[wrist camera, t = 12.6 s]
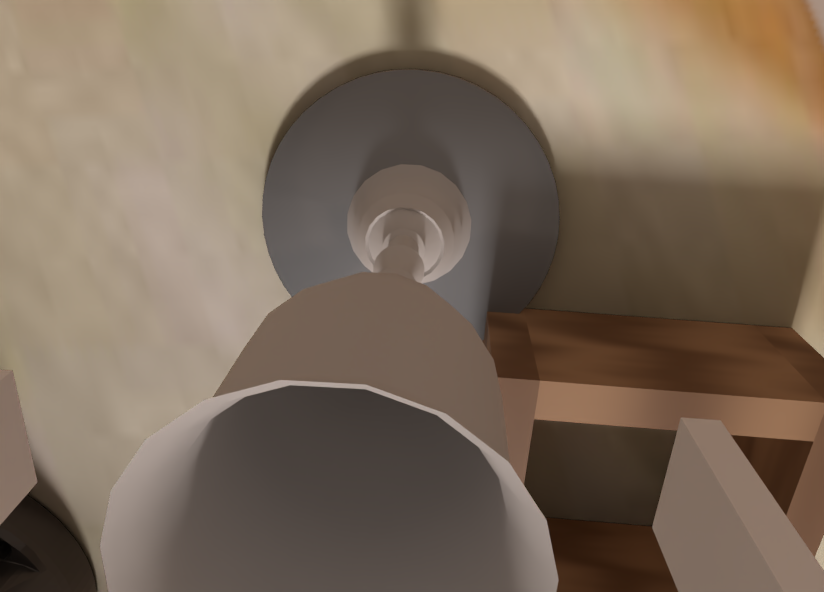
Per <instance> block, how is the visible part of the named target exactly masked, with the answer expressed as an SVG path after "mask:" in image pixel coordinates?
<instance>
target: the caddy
mask: <svg viewBox="0 0 824 592" xmlns="http://www.w3.org/2000/svg"><path fill="white" fill-rule="evenodd" d="M482 342H483V343H484V345H485V347H486V348H487V350H488V351H489V353H490V355H491V356H492V358H493V360H494V363H495V368H496V372H497V377H498V382H499V386H500V391H501V395H502V401H503V410H504V418H505V427H506V435H507V444H508V453H509V461H510V465H511V466H512V468H513V469H514V471H515V472H516V474H517V475H518V477H519V478H520V480H521V482H522V483H523V485H524V481H525V475H526V468H527V462H528V455H529V449H530V442H531V436H532V429H533V423H534V419H537V420H550V421H563V422H575V423H588V424H600V425H613V426H625V427H638V428H650V429H663V430H676V431H677V430H678V426H679V422H680V419H681V418H695V419H709V420H721V421H722V423H723V424H724V426H725V427H726V429H727V430H728V432H729V433H730V435H731V436H732V438H733V439H734V440H735V442H736V443H737V445H738V446H739V448H740V449H741V451H742V452H743V454H744V455H745V457H746V458H747V459H748V461H749V462H750V464H751V465H752V467H753V468H754V470H755V471H756V473H757V474H758V476H759V477H760V478H761V480H762V481H763V483H764V484H765V486H766V487H767V489H768V490H769V492H770V493H771V494H772V496H773V497H774V499H775V500H776V502H777V503H778V505H779V506H780V508H781V509H782V511H783V512H784V513H785V515H786V516H787V518H788V519H789V521H790V522H791V524H792V525H793V527H794V528H795V530H796V531H797V532H798V534H799V535H800V537H801V538H802V540H803V541H804V543H805V544H806V546H807V547H808V548H809V550H810V551H811V553H812V554H813V556H814V557H815V555H816V552H817V550H818V547H819V545H820V542H821V540H822V537H823V535H824V358H823V357H822V356H821V355H820V354H819V353H818V352H817V351H816V350H815V349H814V348H813V347H812V346H810V345H809V344H808V343H807V342H806V341H805V340H804V339H803V338H802V337H801V336H800V335H799V334H798V333H797V332H796V331H794V330H793V329H792V328H784V327H770V326H757V325H743V324H730V323H716V322H703V321H689V320H675V319H662V318H648V317H635V316H621V315H607V314H594V313H580V312H567V311H553V310H540V309H526V308H524V309H523V310H522V311H521V312H520V313H519V314H515V313H501V312H488V311H487V316H486V325H485V334H484V340H483V341H482ZM545 519H546V520H547V525H548V530H549V535H550V540H551V545H552V549H553V554H554V559H555V564H556V569H557V574H558V579H559V581H558V586H557V591H556V592H678V590H677V588H676V585H675V583H674V580H673V578H672V575H671V573H670V570H669V568H668V565H667V563H666V561H665V558H664V556H663V553H662V551H661V548H660V546H659V543H658V541H657V538H656V536H655V533H654V531H653V529H652V527H651V526H640V525H628V524H616V523H604V522H592V521H581V520H569V519H557V518H545Z"/></svg>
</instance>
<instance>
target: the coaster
mask: <svg viewBox="0 0 824 592" xmlns="http://www.w3.org/2000/svg"><path fill="white" fill-rule="evenodd" d="M400 164H407V165H422V166H425V167H427V168H430V169H432V170H435V171H438V172H440V173H442V174H443V175H444V176H445V177H446V178H448V179H449V180H450V181H451V182H453V183H454V184H455V185H456V186H457V188H458V189H459V191H460V192H461V194H462V195H463V197H464V199H465V200H466V202H467V205H468V209H469V213H470V217H471V232H470V241H469V243H468V245H467V248H466V250H465V252H464V255H463V257H462V258H461V259H460V260H459V262H458V263H457V264H456V265H455V266H454V267H453V268H452V269H451V271H449V272H448V273H446V274H444V275H443V276H441V277H439V278H438V279H436V280H434V281H430V282H426V283H422V284H424V285H427V286H428V287H429V288H430V289H432V290H433V291H434V292H435V293H436V294H438V295H439V296H440V297H441V298H443V299H444V300H445V301H446V302H448V303H449V304H450V305H451V306H452V307H453V308H454V309H456V310H457V311H458V312H459V313H460V314H461V315H462V316H463V317H464V318H465V319H466V320H468V321H469V322H470V323H471V324H472V326H473V327H474V329H475V330H476V332H477V334H478V335H479V337H480V339H481V340H482V341H483V340H484V334H485V325H486V316H487V311H488V312H501V313H515V314H519V313H520V312H521V311H522V310H523V309H524V308H525V307H526V306H527V305H528V304H529V302H530V301H531V300H532V298H533V297H534V295H535V294H536V293H537V291H538V290H539V288H540V286H541V284H542V282H543V281H544V279H545V277H546V275H547V273H548V270H549V268H550V265H551V262H552V260H553V257H554V253H555V249H556V244H557V240H558V232H559V220H560V216H559V199H558V194H557V189H556V184H555V179H554V176H553V173H552V171H551V168H550V165H549V162H548V160H547V158H546V156H545V154H544V152H543V150H542V148H541V146H540V144H539V142H538V141H537V139H536V138H535V137H534V135H533V134H532V132H531V131H530V129H529V128H528V127H527V125H526V124H525V123H524V122H523V121H522V120H521V118H520V117H519V116H518V115H517V114H516V113H515V112H514V111H513V110H512V109H511V108H510V107H509V106H507V105H506V104H505V103H504V102H502V101H501V100H500V99H499V98H497V97H496V96H495V95H493V94H491V93H490V92H488V91H486V90H485V89H483V88H481V87H480V86H478V85H476V84H473V83H471V82H469V81H466V80H464V79H462V78H459V77H456V76H452V75H449V74H445V73H442V72H437V71H429V70H421V69H396V70H389V71H382V72H376V73H373V74H369V75H366V76H363V77H359V78H356V79H354V80H352V81H350V82H347V83H345V84H343V85H341V86H339V87H337V88H336V89H334V90H332V91H331V92H329V93H328V94H326V95H325V96H323V97H321V98H320V99H318V100H317V101H316V102H315V103H314V104H313V105H311V106H310V107H309V108H308V109H307V110H306V111H304V112H303V113H302V115H301V116H300V117H299V118H298V119H297V120H296V121H295V123H294V124H293V125H292V126H291V127H290V129H289V130H288V132H287V133H286V135H285V136H284V138H283V139H282V141H281V142H280V144H279V146H278V148H277V150H276V152H275V155H274V157H273V159H272V161H271V164H270V167H269V171H268V174H267V177H266V181H265V187H264V193H263V209H262V218H263V228H264V236H265V240H266V244H267V248H268V252H269V255H270V258H271V260H272V263H273V265H274V268H275V270H276V272H277V274H278V276H279V278H280V280H281V281H282V283H283V285H284V287H285V288H286V289H287V291H288V292H289V294H290V295H291V296H292V297H293V296H294V295H296V294H297V293H299V292H300V291H301V290H303V289H306V288H309V287H312V286H316V285H319V284H322V283H326V282H329V281H332V280H336V279H339V278H343V277H347V276H350V275H354V274H357V273H361V272H371V271H370V270H369V269H368V268H366V267H365V266H364V265H363V264H362V262H361V261H360V259H359V258H358V257H357V255H356V254H355V252H354V251H353V248H352V245H351V242H350V239H349V236H348V233H347V214H348V211H349V208H350V205H351V202H352V199H353V196H354V195H355V193H356V192H357V191H358V189H359V188H360V187H361V185H362V184H363V183H364V181H365V180H367V179H368V178H370V177H371V176H373V175H374V174H376V173H377V172H379V171H380V170H382V169H385V168H389V167H393V166H396V165H400Z"/></svg>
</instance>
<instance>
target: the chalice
mask: <svg viewBox="0 0 824 592" xmlns="http://www.w3.org/2000/svg"><path fill="white" fill-rule="evenodd" d="M470 232H471V217H470V213H469V209H468V205H467V202H466V200H465V199H464V197H463V195H462V194H461V192H460V191H459V189H458V188H457V186H456V185H455V184H454V183H453V182H451V181H450V180H449V179H448V178H446V177H445V176H444V175H443V174H442V173H440V172H438V171H435V170H432V169H430V168H427V167H425V166H422V165H407V164H400V165H396V166H393V167H389V168H385V169H382V170H380V171H379V172H377V173H376V174H374V175H373V176H371V177H370V178H368V179H367V180H365V181H364V183H363V184H362V185H361V187H360V188H359V189H358V191H357V192H356V193H355V195H354V196H353V199H352V202H351V205H350V208H349V211H348V214H347V233H348V236H349V239H350V242H351V245H352V248H353V251H354V252H355V254H356V255H357V257H358V258H359V259H360V261H361V262H362V264H363V265H364V266H365V267H366V268H368V269H369V270H370V271H371V272H361V273H357V274H354V275H350V276H347V277H343V278H339V279H336V280H332V281H329V282H326V283H322V284H319V285H316V286H312V287H309V288H306V289H303V290H301V291H300V292H299V293H297V294H296V295H294V296H293V297H291V298H290V299H289V300H287V301H286V302H284V303H283V304H281V305H280V306H279V307H277V308H276V309H274V310H273V311H271V312H270V313H269V314H268V315H267V316H266V318H265V319H264V321H263V322H262V323H261V325H260V326H259V328H258V329H257V331H256V332H255V333H254V335H253V336H252V338H251V339H250V340H249V342H248V343H247V345H246V346H245V348H244V349H243V351H242V352H241V354H240V355H239V357H238V359H237V360H236V362H235V363H234V365H233V366H232V368H231V370H230V371H229V373H228V374H227V376H226V377H225V379H224V381H223V382H222V384H221V385H220V387H219V388H218V390H217V391H216V393H215V395H214V396H213V398H209V399H205V400H203V401H201V402H200V403H198V404H197V405H195V406H194V407H192V408H191V409H189V410H188V411H186V412H185V413H183V414H182V415H181V416H179V417H178V418H176V419H175V420H173V421H172V422H170V423H169V424H167V425H166V426H164V427H163V428H161V429H160V430H158V431H157V432H155V433H154V434H153V435H151V436H150V437H148V438H147V439H145V441H144V442H143V444H142V445H141V446H140V448H139V449H138V451H137V452H136V454H135V455H134V457H133V458H132V460H131V461H130V463H129V464H128V466H127V467H126V469H125V470H124V472H123V473H122V475H121V476H120V478H119V479H118V481H117V482H116V484H115V485H114V486H113V488H112V489H111V492H110V497H109V502H108V507H107V512H106V517H105V523H104V528H103V533H102V538H101V543H100V549H101V555H102V560H103V565H104V571H105V576H106V581H107V587H108V592H556V591H557V586H558V581H559V579H558V574H557V569H556V564H555V559H554V554H553V549H552V545H551V540H550V535H549V530H548V525H547V520H546V519H545V517H544V516H543V514H542V512H541V511H540V509H539V508H538V506H537V505H536V503H535V502H534V500H533V499H532V497H531V495H530V494H529V492H528V491H527V489H526V488H525V486H524V485H523V483H522V482H521V480H520V478H519V477H518V475H517V474H516V472H515V471H514V469H513V468H512V466H511V465H510V461H509V453H508V444H507V435H506V427H505V418H504V410H503V401H502V395H501V391H500V386H499V382H498V377H497V372H496V368H495V363H494V360H493V358H492V356H491V355H490V353H489V351H488V350H487V348H486V347H485V345H484V343H483V342H482V340H481V339H480V337H479V335H478V334H477V332H476V330H475V329H474V327H473V326H472V324H471V323H470V322H469V321H468V320H466V319H465V318H464V317H463V316H462V315H461V314H460V313H459V312H458V311H457V310H456V309H454V308H453V307H452V306H451V305H450V304H449V303H448V302H446V301H445V300H444V299H443V298H441V297H440V296H439V295H438V294H436V293H435V292H434V291H433V290H432V289H430V288H429V287H428V286H427V285H424V284H422V283H426V282H430V281H434V280H436V279H438V278H439V277H441V276H443V275H444V274H446V273H448V272H449V271H451V269H452V268H453V267H454V266H455V265H456V264H457V263H458V262H459V260H460V259H461V258H462V257H463V255H464V252H465V250H466V248H467V245H468V243H469V241H470Z"/></svg>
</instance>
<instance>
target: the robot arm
mask: <svg viewBox="0 0 824 592" xmlns="http://www.w3.org/2000/svg"><path fill="white" fill-rule="evenodd" d="M36 483H37V477H36V473H35V468H34V464H33V459H32V455H31V451H30V446H29V442H28V437H27V433H26V428H25V424H24V419H23V415H22V410H21V406H20V401H19V397H18V392H17V388H16V383H15V379H14V374H13V371H11V370H0V592H96V585H95V580H94V576H93V573H92V570H91V567H90V565H89V562H88V560H87V558H86V556H85V554H84V552H83V551H82V549H81V547H80V546H79V544H78V543H77V541H76V540H75V539H74V537H73V536H72V535H71V534H70V532H69V531H68V530H67V529H66V528H65V527H64V526H63V525H62V524H61V522H60V521H59V520H58V519H56V518H55V517H54V516H53V515H52V514H51V513H50V512H49V511H48V510H46V509H45V508H44V507H43V506H41V505H40V504H39V503H37V502H36V501H35V500H33V499H32V498H30V497H29V496H27V494H28V493H29V492H30V490H31V489H32V488H33V487H34V486H35V485H36ZM652 529H653V531H654V533H655V536H656V538H657V541H658V543H659V546H660V548H661V551H662V553H663V556H664V558H665V561H666V563H667V565H668V568H669V570H670V573H671V575H672V578H673V580H674V583H675V585H676V588H677V590H678V592H824V570H823V569H822V567H821V566H820V565H819V563H818V562H817V560H816V559H815V557H814V556H813V554H812V553H811V551H810V550H809V548H808V547H807V546H806V544H805V543H804V541H803V540H802V538H801V537H800V535H799V534H798V532H797V531H796V530H795V528H794V527H793V525H792V524H791V522H790V521H789V519H788V518H787V516H786V515H785V513H784V512H783V511H782V509H781V508H780V506H779V505H778V503H777V502H776V500H775V499H774V497H773V496H772V494H771V493H770V492H769V490H768V489H767V487H766V486H765V484H764V483H763V481H762V480H761V478H760V477H759V476H758V474H757V473H756V471H755V470H754V468H753V467H752V465H751V464H750V462H749V461H748V459H747V458H746V457H745V455H744V454H743V452H742V451H741V449H740V448H739V446H738V445H737V443H736V442H735V440H734V439H733V438H732V436H731V435H730V433H729V432H728V430H727V429H726V427H725V426H724V424H723V423H722V421H721V420H709V419H695V418H681V419H680V422H679V426H678V430H677V434H676V438H675V442H674V445H673V449H672V453H671V457H670V461H669V465H668V468H667V472H666V476H665V480H664V484H663V488H662V491H661V495H660V499H659V503H658V507H657V510H656V514H655V518H654V522H653V526H652Z"/></svg>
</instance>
